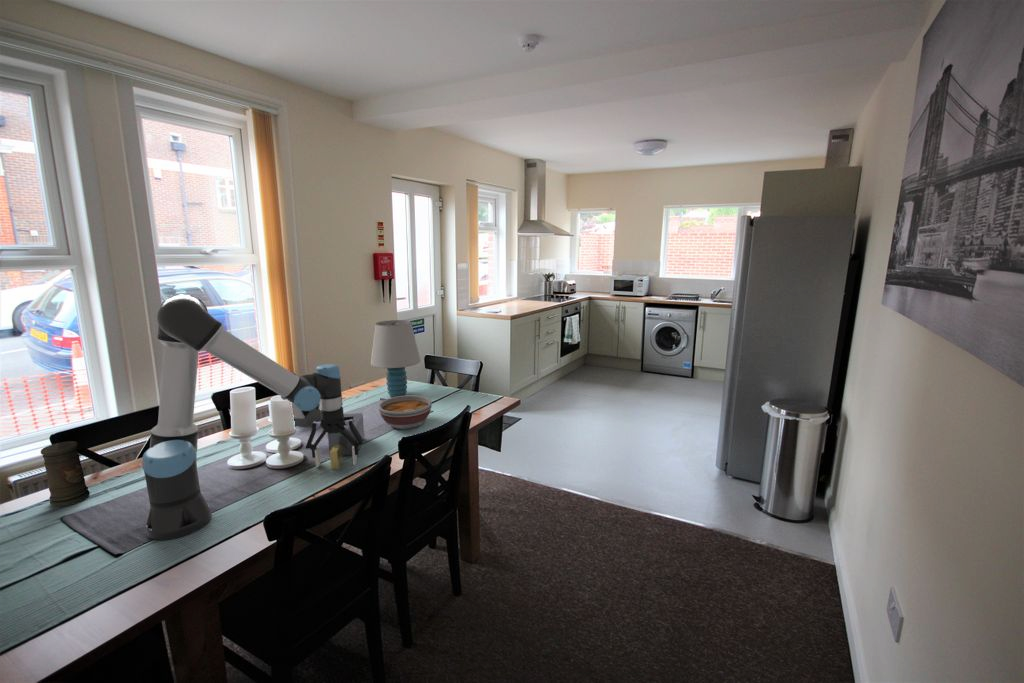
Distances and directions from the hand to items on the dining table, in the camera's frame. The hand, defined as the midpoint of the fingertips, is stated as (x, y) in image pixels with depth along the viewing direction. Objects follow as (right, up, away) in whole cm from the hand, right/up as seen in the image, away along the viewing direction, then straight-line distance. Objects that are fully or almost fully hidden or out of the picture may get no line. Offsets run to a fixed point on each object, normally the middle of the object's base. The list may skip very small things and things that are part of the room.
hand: (336, 464), depth 169 cm
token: (0, 0, 0) cm, 0 cm away
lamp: (+3, +16, +79) cm, 80 cm away
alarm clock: (-29, +8, +43) cm, 52 cm away
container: (-76, -5, -22) cm, 79 cm away
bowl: (+17, +7, +38) cm, 42 cm away
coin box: (-1, +3, +15) cm, 15 cm away
